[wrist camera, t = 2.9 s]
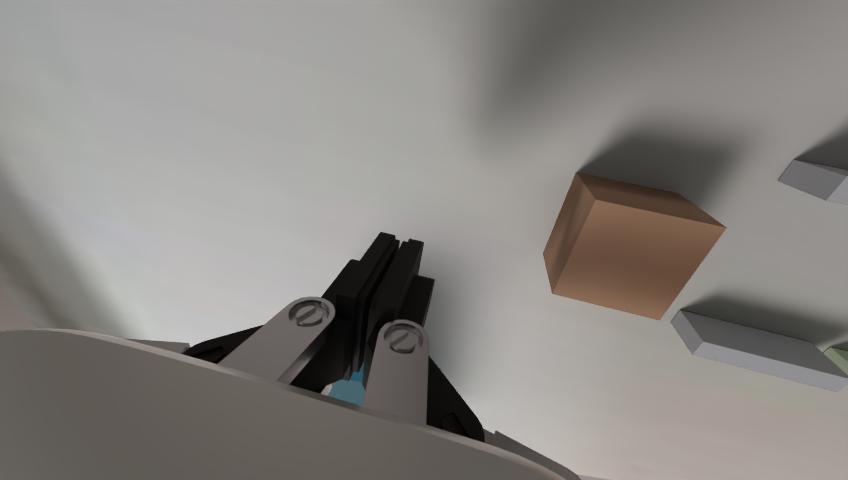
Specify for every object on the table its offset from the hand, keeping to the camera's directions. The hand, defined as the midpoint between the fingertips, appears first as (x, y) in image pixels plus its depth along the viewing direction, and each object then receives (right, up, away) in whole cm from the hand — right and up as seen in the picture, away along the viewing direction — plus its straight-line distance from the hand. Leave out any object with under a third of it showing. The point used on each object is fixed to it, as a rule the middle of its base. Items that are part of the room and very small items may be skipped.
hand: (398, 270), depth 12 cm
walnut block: (+11, +2, +5) cm, 12 cm away
